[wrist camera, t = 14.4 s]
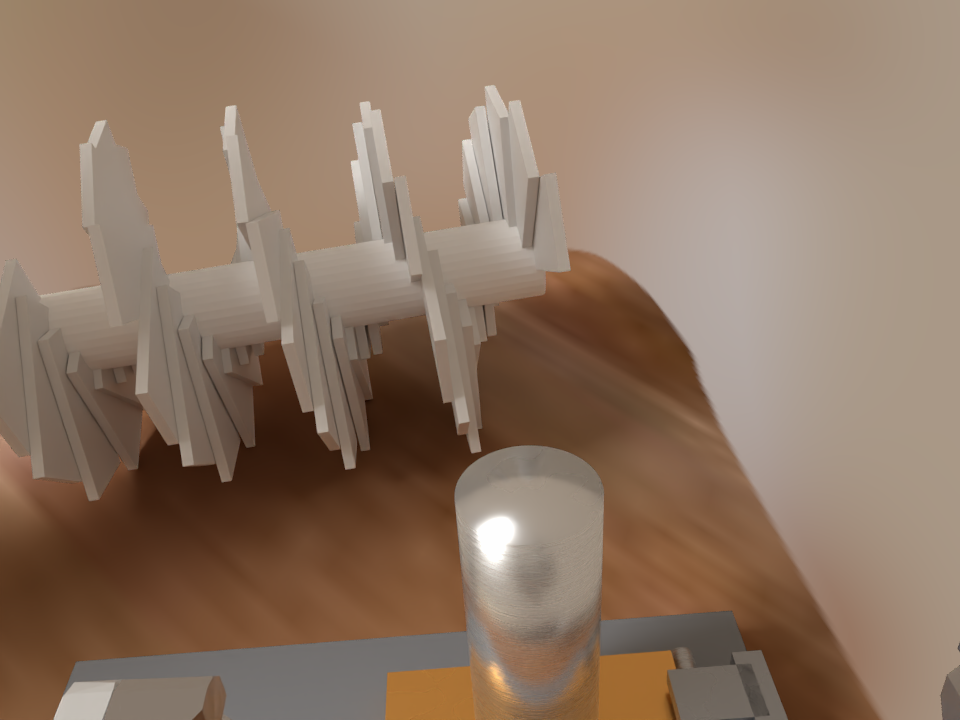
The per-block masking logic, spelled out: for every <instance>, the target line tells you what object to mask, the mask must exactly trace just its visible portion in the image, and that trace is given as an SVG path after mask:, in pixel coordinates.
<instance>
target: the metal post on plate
mask: <svg viewBox="0 0 960 720" xmlns="http://www.w3.org/2000/svg"><path fill="white" fill-rule="evenodd" d="M455 508H456V519H457V530H458V540H459V551H460V562H461V573H462V584H463V594H464V605H465V616H466V627H467V637H468V648H469V659H470V666H465V667H452V668H439V669H426V670H414V671H401V672H388V673H387V692H386V715H385V720H676V716H675V712H674V708H673V705H672V701H671V697H670V694H669V690H668V686H667V682H666V680H667V670H673V669H686V668H697V667H696V664H695V661H694V658H693V654H692V651H691V650H690V649H689V648H686V647H679V648H676V649H674V650H673V651H672V652H671V650H669V651H656V652H644V653H631V654H618V655H605V656H600V633H601V593H602V552H603V512H604V489H603V485H602V482H601V479H600V478H599V476H598V474H597V473H596V471H595V470H594V469H593V468H592V467H591V466H590V465H589V464H588V463H586V462H585V461H584V460H582V459H581V458H579V457H577V456H575V455H573V454H571V453H569V452H566V451H563V450H560V449H556V448H552V447H546V446H534V445H527V446H515V447H509V448H504V449H501V450H497V451H495V452H492V453H489V454H487V455H485V456H483V457H481V458H480V459H478V460H477V461H475V462H474V463H472V464H471V465H470V466H469V467H468V468H467V469H466V470H465V471H464V472H463V474H462V475H461V477H460V478H459V480H458V482H457V484H456V488H455Z"/></svg>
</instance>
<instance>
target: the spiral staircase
mask: <svg viewBox="0 0 960 720" xmlns="http://www.w3.org/2000/svg"><path fill="white" fill-rule="evenodd" d="M485 96H486V107H487V116H486V110H485V106H478V107H475V108H474V110H473V112H472V114H471V115H470V117H469V126H470V132H471V138H472V141H471V139H468V140H462V151H463V152H462V153H463V184H464V189H465V193H466V198H467V199H466V198H463V199H458V204H459V212H460V221H461V227H455V228H449V229H442V230H436V231H431V232H424V233H423V228H422V224H421V219H420V216H416V217H413V215H412V209H411V203H410V197H409V192H408V186H407V180H406V176H400V177H394V182H393V177H392V171H391V165H390V160H389V154H388V149H387V144H386V138H385V132H384V127H383V122H382V116H381V111H380V109H379V110H372V111H371V106H370V102H369V101H367V102H361V103H360V108H361V114H362V121H363V124H362V122H359V123H352V125H353V131H354V137H355V142H356V148H357V154H358V159H359V160H355V161H351V166H352V173H353V180H354V186H355V192H356V199H357V204H358V211H359V218H360V221H358V222H354V228H355V239H356V244H351V245H345V246H339V247H333V248H326V249H320V250H314V251H309V252H302V253H296V250H295V246H294V243H293V239H292V236H291V232H290V228H286V229H283V225H282V220H281V215H280V210H277V211H271V209H270V207H269V205H268V203H267V200H266V198H265V196H264V193H263V191H262V189H261V187H260V185H259V182H258V180H257V176H256V173H255V169H254V166H253V162H252V159H251V155H250V152H249V148H248V144H247V141H246V137H245V134H244V130H243V127H242V123H241V120H240V116H239V113H238V109H237V106H236V105H235V106H227V107H226V111H225V125H224V126H221V127H220V129H221V134H222V138H223V153H224V156H225V160H226V163H227V166H228V170H229V173H230V176H231V184H232V193H233V201H234V209H235V217H236V225H237V248H236V251H235V254H234V256H233V259H232V262H231V264H229V265H223V266H216V267H211V268H205V269H198V270H192V271H186V272H180V273H174V274H168V275H167V274H166V272H165V270H164V268H163V266H162V264H161V259H160V255H159V250H158V246H157V241H156V236H155V232H154V227H153V225H149V219H148V210H147V209H146V207H145V206H144V204H143V202H142V201H141V199H140V198H139V196H138V195H137V190H136V186H135V181H134V176H133V172H132V167H131V163H130V158H129V153H128V149H127V148H125V147H122V146H119V145H116V144H115V142H114V139H113V136H112V133H111V131H110V128H109V125H108V122H107V120H104V121H97V122H96V123H95V125H94V128H93V130H92V133H91V135H90V138H89V140H88V143H85V144H80V167H81V195H82V196H81V198H82V225H83V226H82V227H83V229H84V230H85V231H86V233H87V234H88V235H89V236H90V240H91V244H92V249H93V254H94V258H95V262H96V267H97V271H98V276H99V280H100V284H101V285H100V286H94V287H88V288H82V289H76V290H70V291H64V292H58V293H52V294H46V295H39V294H38V293H37V291H36V289H35V288H34V286H33V285H32V283H31V281H30V280H29V278H28V276H27V275H26V273H25V271H24V270H23V268H22V267H21V265H20V263H19V262H18V260H17V259H12V260H6V262H5V266H4V270H3V274H2V279H1V283H0V434H1V435H2V437H3V438H4V439H5V440H6V442H7V443H8V444H9V445H10V447H11V448H12V449H13V450H14V452H15V453H16V454H17V455H18V457H24V456H30V455H31V463H32V473H33V479H37V480H46V481H54V482H62V483H71V484H72V483H78V482H82V481H83V484H84V487H85V491H86V494H87V497H88V500H89V501H93V500H99V499H100V497H101V496H102V494H103V492H104V490H105V489H106V487H107V485H108V483H109V482H110V480H111V478H112V476H113V475H114V473H115V471H116V469H117V468H118V466H119V464H120V459H119V456H120V458H121V460H122V461H123V463H124V464H125V466H126V467H127V469H128V470H134V469H138V463H139V450H140V437H141V424H142V411H143V410H145V411H146V412H147V414H148V415H149V417H150V418H151V420H152V421H153V423H154V425H155V426H156V428H157V429H158V431H159V432H160V434H161V436H162V437H163V439H164V440H165V442H166V443H167V445H174V444H179V445H180V451H181V458H182V465H183V467H188V466H207V465H213V464H217V468H218V471H219V474H220V478H221V481H222V482H227V481H232V478H233V473H234V468H235V464H236V459H237V455H238V450H239V445H240V437H239V434H240V436H241V438H242V440H243V442H244V444H245V446H246V448H248V447H254V446H255V427H254V405H253V386H260V385H263V382H262V375H261V369H260V363H259V357H258V356H259V355H264V342H270V341H276V340H281V345H282V348H283V351H284V354H285V358H286V361H287V364H288V367H289V370H290V374H291V377H292V380H293V383H294V387H295V390H296V393H297V396H298V399H299V403H300V406H301V409H302V412H303V413H304V412H310V411H314V413H315V420H316V427H317V434H318V435H319V436H320V438H321V439H322V440H323V442H324V443H325V444H326V446H327V447H328V449H329V450H330V451H333V450H339V449H340V445H341V450H342V455H343V460H344V465H345V470H347V469H353V468H356V452H357V438H356V433H357V437H358V441H359V444H360V448H361V451H366V450H370V442H369V433H368V424H367V415H366V406H365V400H370V399H373V396H372V390H371V384H370V377H369V371H368V365H367V359H368V358H370V355H371V344H372V349H373V354H374V355H376V354H382V353H383V350H382V341H381V333H380V326H385V325H388V321H393V320H399V319H405V318H411V317H416V316H422V315H426V318H427V323H428V328H429V333H430V338H431V343H432V348H433V353H434V358H435V363H436V368H437V373H438V378H439V384H440V389H441V394H442V399H443V403H447V402H452V407H453V412H454V418H455V423H456V429H457V434H458V435H463V434H466V436H467V440H468V443H469V447H470V450H471V453H476V452H481V447H480V441H479V434H478V429H482V419H481V409H480V398H479V388H478V378H477V365H478V359H479V353H480V347H481V342H484V341H488V340H487V335H488V336H494V335H497V331H496V321H495V311H494V306H498V305H499V302H504V301H510V300H516V299H522V298H528V297H534V296H540V295H544V294H545V290H546V274H545V271H551V272H565V271H571V270H570V263H569V256H568V250H567V243H566V237H565V230H564V223H563V217H562V210H561V203H560V196H559V190H558V184H557V176H556V173H551V174H545V175H543V176H541V177H539V173H538V169H537V165H536V161H535V158H534V153H533V150H532V145H531V142H530V138H529V134H528V130H527V126H526V122H525V118H524V114H523V110H522V107H521V102H520V100H517V101H511V102H509V113H508V111H507V109H506V107H505V105H504V103H503V101H502V99H501V97H500V95H499V93H498V91H497V89H496V87H495V85H492V86H486V87H485ZM487 117H488V123H487ZM363 128H364V129H363ZM488 128H489V129H488ZM472 145H473V146H472ZM394 184H395V188H394ZM376 200H377V201H376ZM378 211H379V212H378ZM379 217H380V218H379ZM381 228H382V229H381ZM382 234H383V235H382ZM486 332H487V334H486ZM353 421H354V422H353ZM354 425H355V427H354ZM355 429H356V433H355ZM238 432H239V434H238ZM339 440H340V442H339ZM118 455H119V456H118ZM215 461H216V462H215Z"/></svg>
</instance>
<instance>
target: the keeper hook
mask: <svg viewBox="0 0 960 720" xmlns="http://www.w3.org/2000/svg"><path fill="white" fill-rule="evenodd" d="M666 682H667V686H668V690H669V694H670V697H671V701H672V705H673V708H674V712H675V716H676V720H788V718H787V716H786V713H785V710H784V708H783V705H782V703H781V700H780V698H779V695H778V692H777V690H776V687H775V685H774V682H773V679H772V677H771V674H770V672H769V669H768V667H767V664H766V661H765V659H764V656H763V654H762V651H761V650H756V651H743V652H732V654H731V661H730V665H724V666H711V667H699V668H686V669H673V670H667V680H666Z"/></svg>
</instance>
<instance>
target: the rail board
mask: <svg viewBox="0 0 960 720" xmlns="http://www.w3.org/2000/svg"><path fill="white" fill-rule="evenodd" d="M679 647H686V648H689V649H690V650H691V651H692V654H693V658H694V661H695V664H696V667H697V668H699V667H711V666H724V665H730V661H731V654H732V652H743V651H747V650H746V648H745V645H744V642H743V640H742V637H741V634H740V631H739V629H738V626H737V623H736V621H735V618H734V615H733V613H732V611H721V612H708V613H695V614H683V615H670V616H657V617H644V618H631V619H618V620H605V621H601V633H600V656H605V655H618V654H631V653H644V652H656V651H669V650H671V652H672V651H673V650H674V649H676V648H679ZM465 666H470V659H469V648H468V637H467V631H464V632H451V633H438V634H425V635H412V636H400V637H387V638H374V639H361V640H348V641H335V642H322V643H310V644H297V645H284V646H271V647H258V648H245V649H232V650H219V651H207V652H194V653H181V654H168V655H155V656H142V657H129V658H117V659H104V660H91V661H78V662H76V664H75V666H74V669H73V671H72V674H71V676H70V679H69V681H68V684H67V686H66V689H65V691H64V694H63V696H64V695H65V693H66V692H67V691H68V690H69V688H70V687H71V686H72V684H73V683H74V682H86V681H104V680H122V679H150V678H176V677H202V676H220V677H221V680H222V683H223V686H224V689H225V692H226V694H227V696H226V701H225V706H224V711H223V714H224V715H226V716H227V717H229V718H230V719H232V720H385V715H386V692H387V673H388V672H401V671H414V670H426V669H439V668H452V667H465ZM63 696H62V697H63ZM60 702H61V701H60ZM58 707H59V706H58ZM56 712H57V711H56ZM54 717H55V716H54Z"/></svg>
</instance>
